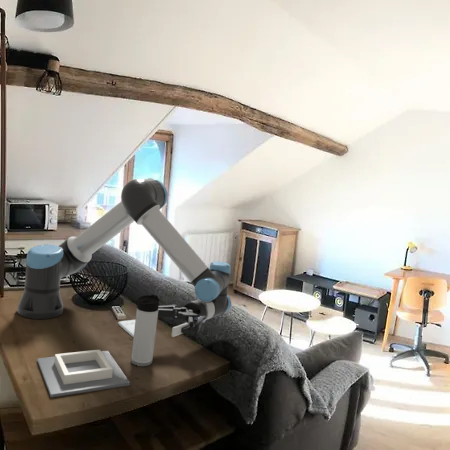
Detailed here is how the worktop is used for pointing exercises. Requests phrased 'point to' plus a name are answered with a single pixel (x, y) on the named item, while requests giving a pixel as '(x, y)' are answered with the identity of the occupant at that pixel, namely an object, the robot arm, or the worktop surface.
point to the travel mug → (145, 330)
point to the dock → (81, 372)
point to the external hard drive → (128, 326)
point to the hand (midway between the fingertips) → (155, 325)
